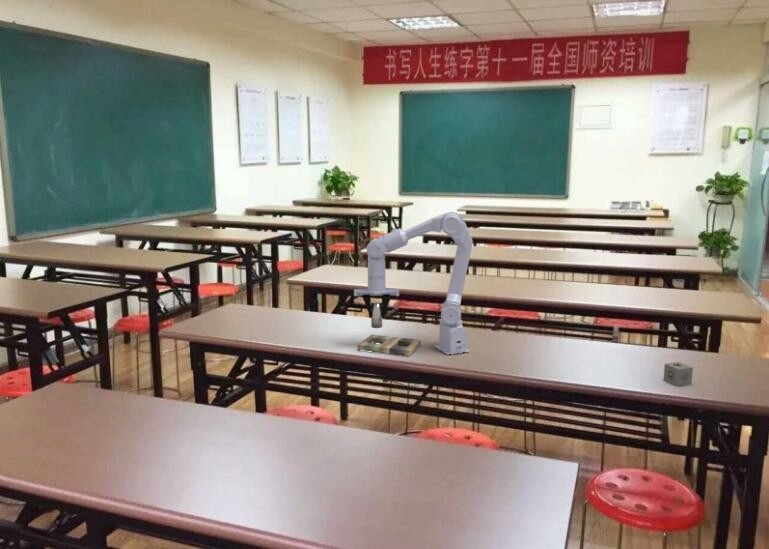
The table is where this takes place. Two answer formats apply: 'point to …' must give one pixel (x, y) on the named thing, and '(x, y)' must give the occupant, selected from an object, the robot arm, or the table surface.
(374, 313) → the metal cylinder
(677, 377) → the dice cube
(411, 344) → the tool stand
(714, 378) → the table surface
